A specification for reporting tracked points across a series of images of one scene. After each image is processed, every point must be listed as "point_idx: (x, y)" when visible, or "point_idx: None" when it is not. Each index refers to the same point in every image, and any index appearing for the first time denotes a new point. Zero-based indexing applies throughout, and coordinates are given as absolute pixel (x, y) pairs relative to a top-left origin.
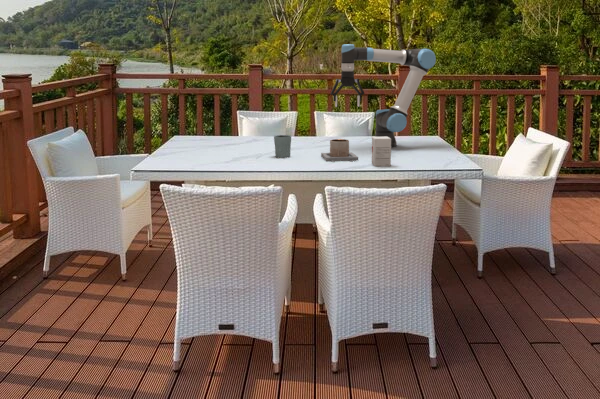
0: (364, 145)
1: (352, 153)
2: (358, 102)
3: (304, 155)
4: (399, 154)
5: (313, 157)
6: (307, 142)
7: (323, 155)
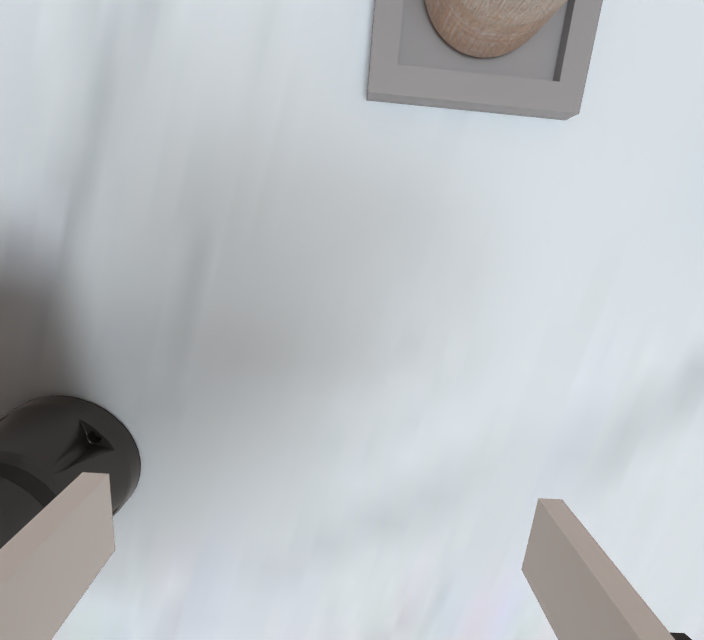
0: (185, 490)
1: (379, 32)
2: (37, 543)
3: (644, 192)
4: (32, 80)
5: (625, 91)
6: (456, 635)
7: (601, 1)
